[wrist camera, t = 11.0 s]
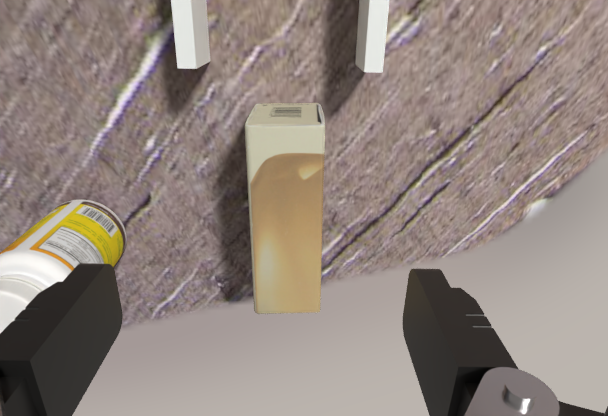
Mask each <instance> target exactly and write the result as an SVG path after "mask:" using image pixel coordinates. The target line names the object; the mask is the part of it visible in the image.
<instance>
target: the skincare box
mask: <svg viewBox="0 0 608 416" xmlns="http://www.w3.org/2000/svg"><path fill="white" fill-rule="evenodd" d="M245 143H246V162H247V181H248V199H249V218H250V237H251V257H252V276H253V295H254V311H255V312H256V313H258V314H264V313H318V312H320V294H321V256H322V217H323V179H324V145H325V120H324V113H323V110H322V107H321V105H320V104H318V103H268V104H256V105H255V106H254V108H253V109H252V111H251V113H250V115H249V116H248V118H247V121H246V123H245Z"/></svg>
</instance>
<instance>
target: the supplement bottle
mask: <svg viewBox="0 0 608 416" xmlns="http://www.w3.org/2000/svg"><path fill="white" fill-rule="evenodd" d="M126 241H127V237H126V231H125V228H124V226H123V224H122V222H121V220H120V219H119V217H118V216H117V215H116V214H115V213H114V212H113V211H112V210H110V209H109V208H107V207H106V206H104V205H102V204H100V203H97V202H94V201H90V200H72V201H68V202H65V203H63V204H61V205H60V206H58V207H57V208H55V209H54V210H53V211H52V212H50V213H49V214H48V215H47V216H46V217H44V218H43V219H42V220H41V221H39V222H38V223H37V224H36V225H34V226H33V227H32V228H31V229H29V230H28V231H27V232H26V233H24V234H23V235H22V236H21V237H19V238H18V239H17V240H16V241H14V242H13V243H12V244H11V245H9V246H8V247H7V248H6V249H4V250H3V251H2V252H1V253H0V333H1V332H2V331H3V330H4V329H5V328H6V327H7V326H8V325H9V324H10V323H11V322H12V321H15V318H16V317H17V316H18V314H19V313H20V312H21V311H22V310H25V309H26V306H27V305H28V304H29V303H30V302H31V301H32V300H33V299H34V298H35V296H36V295H37V294H38V293H40V292H41V291H43V290H45V289H46V288H48V287H50V286H51V285H53V284H55V283H56V282H63V281H64V280H65V278H66V277H67V276H68V275H69V274H70V273H71V272H72V271H73V269H74V268H75V267H76V266H77V265H78V264H81V263H96V264H111V265H112V266H113V267H114V266H115V264H116V263H117V261H118V260H119V259H120V257H121V256H122V254H123V252H124V250H125V247H126Z"/></svg>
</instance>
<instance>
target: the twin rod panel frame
mask: <svg viewBox="0 0 608 416" xmlns="http://www.w3.org/2000/svg"><path fill="white" fill-rule="evenodd" d="M171 6H172V16H173V26H174V37H175V47H176V57H177V68H181V69H197V68H199V67H201V66H203V65H205V64H206V63H208V62H210V48H209V33H208V18H207V3H206V0H171ZM388 10H389V0H359V14H358V29H357V44H356V59H355V65H356V66H358V67H359V68H360V69H361V70H362V71H363V72H377V73H383V64H384V53H385V42H386V31H387V21H388Z"/></svg>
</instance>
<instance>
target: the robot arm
mask: <svg viewBox="0 0 608 416" xmlns="http://www.w3.org/2000/svg"><path fill="white" fill-rule="evenodd" d="M121 324H122V308H121V303H120V298H119V292H118V287H117V282H116V276H115V271H114V268H113V266H112V265H111V264H96V263H81V264H78V265H77V266H76V267H75V268H74V269H73V271H72V272H71V273H70V274H69V275H68V276H67V277H66V278H65V280H64V281H63V282H56V283H55V284H53V285H51V286H50V287H48V288H46V289H45V290H43V291H41V292H40V293H38V294H37V295H36V296H35V298H34V299H33V300H32V301H31V302H30V303H29V304H28V305H27V306H26V309H25V310H22V311H21V312H20V313H19V314H18V316H17V317H16V318H15V321H12V322H11V323H10V324H9V325H8V326H7V327H6V328H5V329H4V330H3V331H2V332H1V333H0V416H72V414H73V413H74V411H75V409H76V408H77V406H78V404H79V402H80V401H81V399H82V397H83V395H84V394H85V392H86V390H87V388H88V387H89V385H90V383H91V381H92V380H93V378H94V376H95V374H96V373H97V371H98V369H99V367H100V365H101V364H102V362H103V360H104V358H105V357H106V355H107V353H108V352H109V350H110V348H111V346H112V345H113V343H114V341H115V339H116V338H117V336H118V334H119V331H120V328H121ZM403 332H404V337H405V341H406V344H407V347H408V350H409V353H410V356H411V359H412V363H413V366H414V369H415V372H416V375H417V378H418V381H419V384H420V387H421V390H422V393H423V396H424V399H425V402H426V406H427V408H428V412H429V415H430V416H608V407H607V409H606V412H605V414H604V413H600V412H596V411H592V410H589V409H585V408H581V407H577V406H573V405H570V404H566V403H563V402H560V401H558V400H557V397H556V396H555V394H554V393H553V391H552V390H551V389H550V388H549V387H548V386H547V385H546V384H545V383H544V382H542V381H541V380H540V379H538V378H536V377H535V376H533V375H531V374H529V373H527V372H525V371H522V370H519V369H518V368H517V366H516V364H515V363H514V361H513V360H512V358H511V356H510V355H509V353H508V352H507V350H506V348H505V347H504V345H503V343H502V342H501V340H500V339H499V337H498V335H497V334H496V332H495V330H494V329H493V328H491V324H490V322H489V321H488V319H487V317H484V313H483V311H482V309H481V308H480V306H479V305H478V303H477V301H476V300H475V299H474V298H472V297H471V296H470V295H469V294H467V293H466V292H465V291H464V290H462V289H461V288H451V287H450V286H449V284H448V282H447V280H446V278H445V276H444V274H443V273H442V271H441V270H440V269H411V271H410V273H409V278H408V285H407V292H406V299H405V306H404V313H403Z"/></svg>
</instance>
